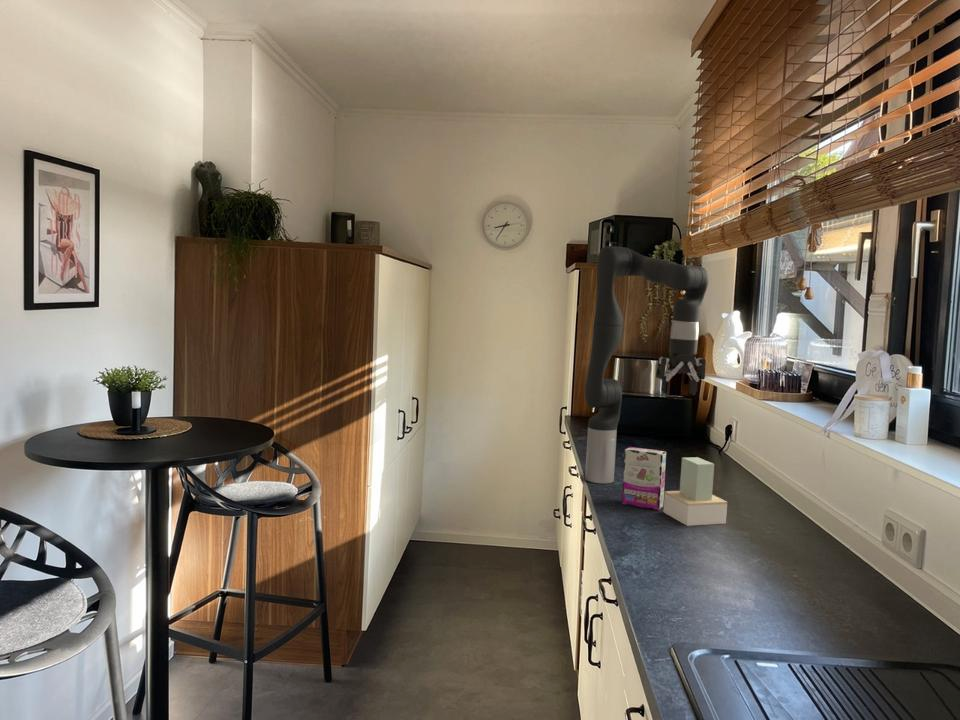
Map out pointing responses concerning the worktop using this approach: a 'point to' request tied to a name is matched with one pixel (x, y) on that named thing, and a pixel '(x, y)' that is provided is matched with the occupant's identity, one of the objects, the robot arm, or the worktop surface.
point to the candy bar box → (644, 478)
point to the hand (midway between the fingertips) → (678, 394)
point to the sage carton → (697, 478)
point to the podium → (695, 509)
